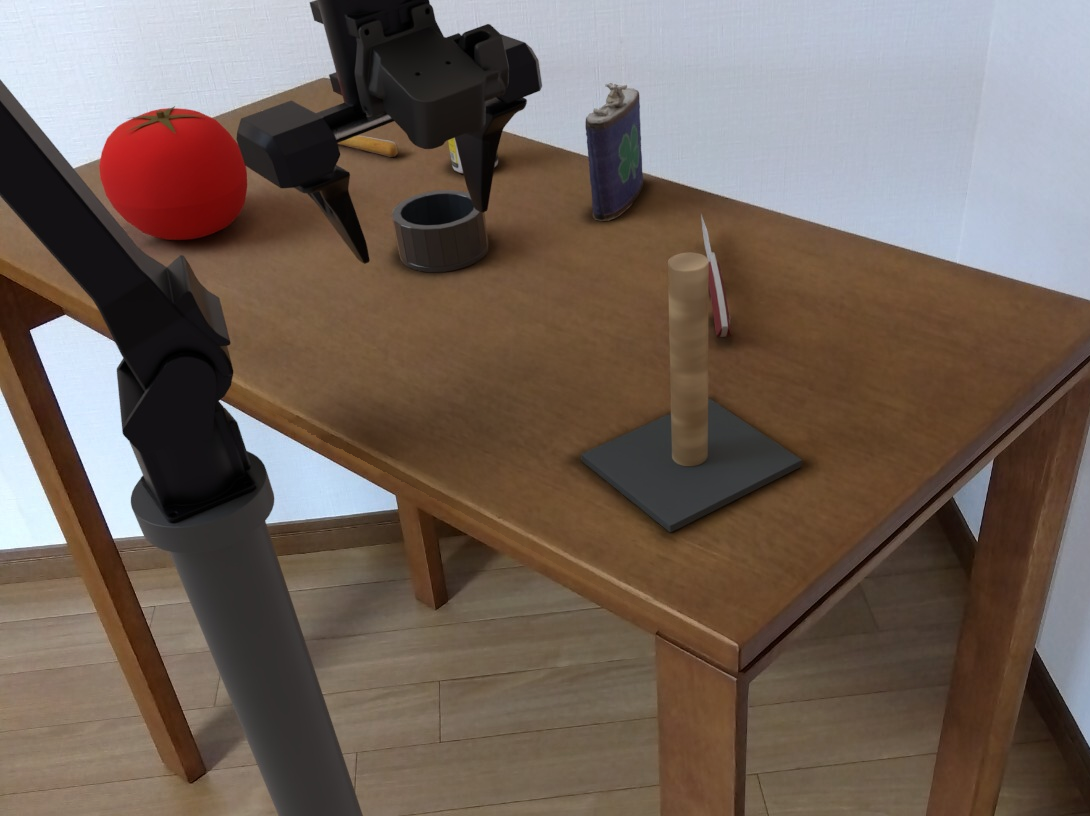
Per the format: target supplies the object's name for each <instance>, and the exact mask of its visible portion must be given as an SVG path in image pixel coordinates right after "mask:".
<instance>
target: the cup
mask: <svg viewBox="0 0 1090 816" xmlns="http://www.w3.org/2000/svg"><path fill="white" fill-rule="evenodd" d="M391 220H392V225H393V231H394V236H395V240H396V245H397V252H398V255H399V259H400V262H401V263H402V264H403V265H404V266H406V267H407V268H410V269H411V270H414V271H419V272H423V273H444V272H445V273H446V272H453V271H457V270H461V269H464V268H467V267H470V266H472V265H475V264H476V263H478V262H480V261H481V260H482V259H483V258H484V257H485V256H486V255H487V254H488V251H489V248H490V247H489V235H488V228H487V221H486V213H485V212H484V213H481V212H479V211H477V210H476V209H475V208H474V205H473V203H472V200H471V197H470V194H469V192H468V191H464V190H454V189H453V190H452V189H442V190H440V189H439V190H438V189H437V190H432V191H426V192H422V193H418V194H416V195H412V196H410V197H408V198H406V199H404V200H402V201H400V202H398V204H397V205H396V206H395V207H393V209H392V212H391Z"/></svg>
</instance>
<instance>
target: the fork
mask: <svg viewBox="0 0 1090 816" xmlns="http://www.w3.org/2000/svg"><path fill="white" fill-rule="evenodd" d="M263 110H264V109H261V111H263ZM337 144H338V145H339V146H340V145H341V146H345V147H349V148H353V149H357V150H361V151H365V152H370V153H373V154H378V155H382V156H385V157H389V158H394V157H396V156H397V155H398V153H399V147H398V144H397V143H396V142H394V141H393V140H387V139H383V138H376V137H371V136H367V135H362V134H360V135H357V136H354V137H352V138H349V139H347V140H344V141H341V142H339V143H337Z"/></svg>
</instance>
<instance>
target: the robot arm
mask: <svg viewBox="0 0 1090 816" xmlns="http://www.w3.org/2000/svg"><path fill="white" fill-rule="evenodd" d="M309 6H310V10H311V13H312V14H311V15H312V18H313V21H314V22H317V23H319V24H321V25H323V28H324V32H325V35H326V40H327V43H328V47H329V50H330V54H331V58H332V61H333V65H334V69H335V72H333V73H329V74H328V77H329V81H330V84H331V87H332V92H333V93H336V94H337V95H340V96H342V100H343V103H340V104H336V105H334V106H331V107H329V108H326V109H323V110H320V111H318V112H315V111H313V110H311V109H310V108H307V107H305V106H303V105H301V104H299V103H297V102H296V101H293V100H292V99H291V100H288V101H285V102H283V103H280V104H277V105H275V106H272V107H269V108H266V109H262V110H263V111H262V110H260V111H258V112H255V113H252V114H249V115H246V116H244V117H241V118H240V120H239V124H238V127H237V131H236V138H235V139H236V140H235V141H236V142H237V144H238V146H239V149H240V152H241V155H242V158H243V161H244V163H245V166H246V168H247V169H250V170H252V172H254V173H256V174H258V175H259V176H261V177H262V178H263V179H265V180H267V181H268V182H270V183H272V184H273V185H275V186H276V187H278V188H279V189H295V190H296V191H298V192H300V193H301V194H307V196H308V197H309V198H310V199H311V200H312V201H313V202H314V203H315V204H316V205H317V207H318V209H319V210H320V211H321V213H323V215H324V216H325V218H326V219H327V220H328V221H329V223H330V224H331V225H332V227H333V228H334V230H335V231H336V232H337V234H338V235H339V236H340V237H341V239H342V240H343V242H344V243H345V245H346V246H347V247H348V249H350V251H351V252H352V254H353V256H355V258H356V259H357V260H358V261H359V262H360V263H362V264H364V265H365V264H368V263H370V255H369V249H368V244H367V241H366V238H365V235H364V231H363V229H362V227H361V223H360V221H359V220H360V219H359V217H358V215H357V212H356V209H355V206H354V202H353V200H352V198H351V195H350V191H349V187H350V180H351V172H349V171H348V170H346V169H344V168H343V167H341V166H339V165H337V163H338V161H339V159H340V157H341V152H340V148H339V144H337V143H339V142H341V141H344V140H347V139H349V138H352V137H354V136H357V135H362V134H364V133H367V132H369V131H373V130H375V129H378V128H380V127H383V126H386V125H388V124H391V123H393V122H394V123H395V124H396V125H397V126H398V127H399V128H400V129H401V130H402V131H403V132H404V133H405V134H406V135H407V137H408V140H409V141H410V142H411V143H412V144H413V145H414V146H415V147H418V148H420V149H423V150H433V149H436V148H439V147H442V146H444V144H445V143H446V142H448V140H450V139H452V138H455V141H456V145H457V149H458V153H459V157H460V161H461V165H462V169H463V173H462V174H463V177H464V181H465V185H466V189H467V192H468V193H469V194H470V197H471V200H472V203H473V205H474V208H475V209H476V210H477V211H479V212H481V213H485V212H488V210H489V205H490V198H491V197H490V196H491V190H492V186H493V185H492V184H493V179H494V178H493V177H494V172H495V168H494V166H495V160H496V155H498V150H499V145H500V142H501V138H502V135H503V131H504V129H505V127H506V126H507V125H508V124H509V122H510V121H511V119H512V118H513V117H514V116H515V115H516V114H517V113H518V112H521V111H523V110H525V108H526V106H527V104H528V99H527V98H525V97H528V96H530V95H531V96H532V95H533V94H535V93H538V92H541V90H542V88H543V82H542V75H541V74H542V73H541V68H540V61H539V60H540V59H538V57H537V55H536V53H535V51H534V49H533V47H531V46H530V45H529V44H528V43H526V41H525V42H524V41H522V40H519V39H517V38H513V37H510V36H507V35H505V34H501V33H500V32H499V31H498V30H497V29H496V27H494V26H492V24H490V23H486V24H484V25H481V26H478V27H475V28H472V29H470V30H467V31H465V32H463V33H462V34H461V33H459V32H458V33H455V34H452V35H449V36H444V34H443V32H442V31H441V28H440V26H439V24H438V22H437V21H436V15H435V11H434V8H433V5H431V3H430V0H312V1H309ZM0 198H2V200H3V201H4V202H5V204H7V206H8V207H9V208H10V209H11V210H12V211H13V213H15V215H16V216H17V217H18V218H19V219H20V220H21V221H22V222H23V224H24V225H25V226H26V227H27V228H28V230H30V232H31V233H32V234H33V235H34V236H35V237H36V239H38V240H39V241H40V242H41V244H42V245H43V246H44V247H45V248H46V250H48V252H49V253H50V254H51V255H52V256H53V257H54V258H55V260H56V261H57V262H58V263H59V264H60V265H61V266H62V268H64V270H65V271H66V272H67V273H68V274H69V275H70V276H71V277H72V279H73V280H74V281H75V282H76V283H77V284H78V285H79V286H80V288H81V289H82V290H83V291H84V292H85V293H86V294H87V295H88V297H89V298H90V299H91V300H92V301H93V302H94V304H95V306H96V308H97V309H98V311H99V314H100V315H101V317H102V319H103V321H104V323H105V325H106V327H107V330H108V331H109V333H110V335H111V337H112V339H113V341H114V343H115V346H116V347H117V350H118V351H119V353H120V355H121V357H122V360H121V361H120V363H119V364H118V366H117V367H116V380H117V388H118V399H119V401H118V402H119V410H120V423H121V432H122V435H123V437H125V439H126V440H128V442H129V445H130V447H131V449H132V452H133V454H134V457H135V459H136V461H137V464H138V466H139V469H140V471H141V473H142V475H141V477H140V479H141V482H142V485H143V486H144V488H145V489H146V490H147V492H148V493H149V495H150V496H151V498H152V499H153V501H154V502H155V504H156V505H157V507H158V508H159V509H160V511H161V512H162V514H163V515H164V517H165V518H166V520H167V521H168V522H169V523H177V522H180V521H182V520H185V519H187V518H190V517H192V516H194V515H197V514H199V513H202V512H204V511H207V510H209V509H211V508H214V507H216V506H219V505H221V504H224V503H226V502H228V501H231V500H233V499H236V498H238V497H240V496H243V495H245V494H248V493H250V492H252V491H254V490H255V489H256V484H255V481H254V480H253V479H252V478H251V476H250V475H249V474H248V473H247V471H248V470H250V468H251V463H250V460H249V457H248V454H247V451H248V450H247V448H246V445H245V441H244V438H243V436H242V432H241V429H240V427H239V424H238V421H237V420H236V418H234V417H233V415H232V414H231V413H230V412H229V411H228V409H227V408H226V407H224V405H223V404H222V403H221V402H220V401H221V400H222V399H223V398H224V397H225V396H226V395H227V393H228V391H229V389H230V388H231V386H232V381H233V377H234V373H235V371H234V368H233V363H232V360H231V356H230V350H229V346H230V345H231V338H230V335H229V330H228V327H227V323H226V319H225V315H224V311H223V308H222V307H223V306H222V304H221V303H222V302H221V299H220V297H219V296H217V295H216V294H215V293H212V292H211V291H210V290H208V289H207V288H206V287H205V286H204V285H203V284H202V283H201V282H200V280H199V279H198V278H197V275H196V274H195V271H194V270H193V268H192V267H191V265H190V263H189V261H188V259H186V257H185V255H183V254H181V255H179V256H177V258H175V259H174V260H173V261H172V262H171V263H170V264H169V265H167V266H166V265H164V264H163V263H162V262H159V261H158V260H156V259H155V258H153V257H151V256H150V255H148V254H146V252H144V251H143V250H142V249H141V248H140V247H139V246H138V245H137V244H136V243H135V241H134V240H133V239H132V238H131V236H130V235H129V234H128V233H127V232H126V230H125V229H124V228H123V227H122V225H121V224H120V223H119V222H118V221H117V220H116V218H115V217H114V216H113V214H112V213H111V212H110V211H109V210H108V209H107V207H106V206H105V205H104V204H103V203H102V201H101V200H100V199H99V198H98V196H97V195H96V194H95V192H94V191H93V190H92V189H91V188H90V186H88V184H87V183H86V182H85V181H84V179H83V178H82V177H81V175H79V173H78V172H77V171H76V170H75V168H74V167H73V166H72V165H71V163H70V162H69V161H68V160H67V159H66V157H65V156H64V155H63V154H62V152H61V151H60V150H59V149H58V148H57V147H56V145H55V144H54V142H53V141H52V140H51V139H50V138H49V137H48V135H46V133H45V132H44V131H43V129H41V127H40V126H39V124H38V123H37V122H36V121H35V120H34V118H33V117H32V116H31V114H29V112H28V111H27V110H26V108H24V106H23V105H22V103H21V102H20V101H19V100H18V99H17V98H16V96H15V95H14V94H13V93H12V92H11V90H10V89H9V88H8V87H7V86H6V84H5V83H4V82H3V81H2V79H0Z"/></svg>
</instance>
